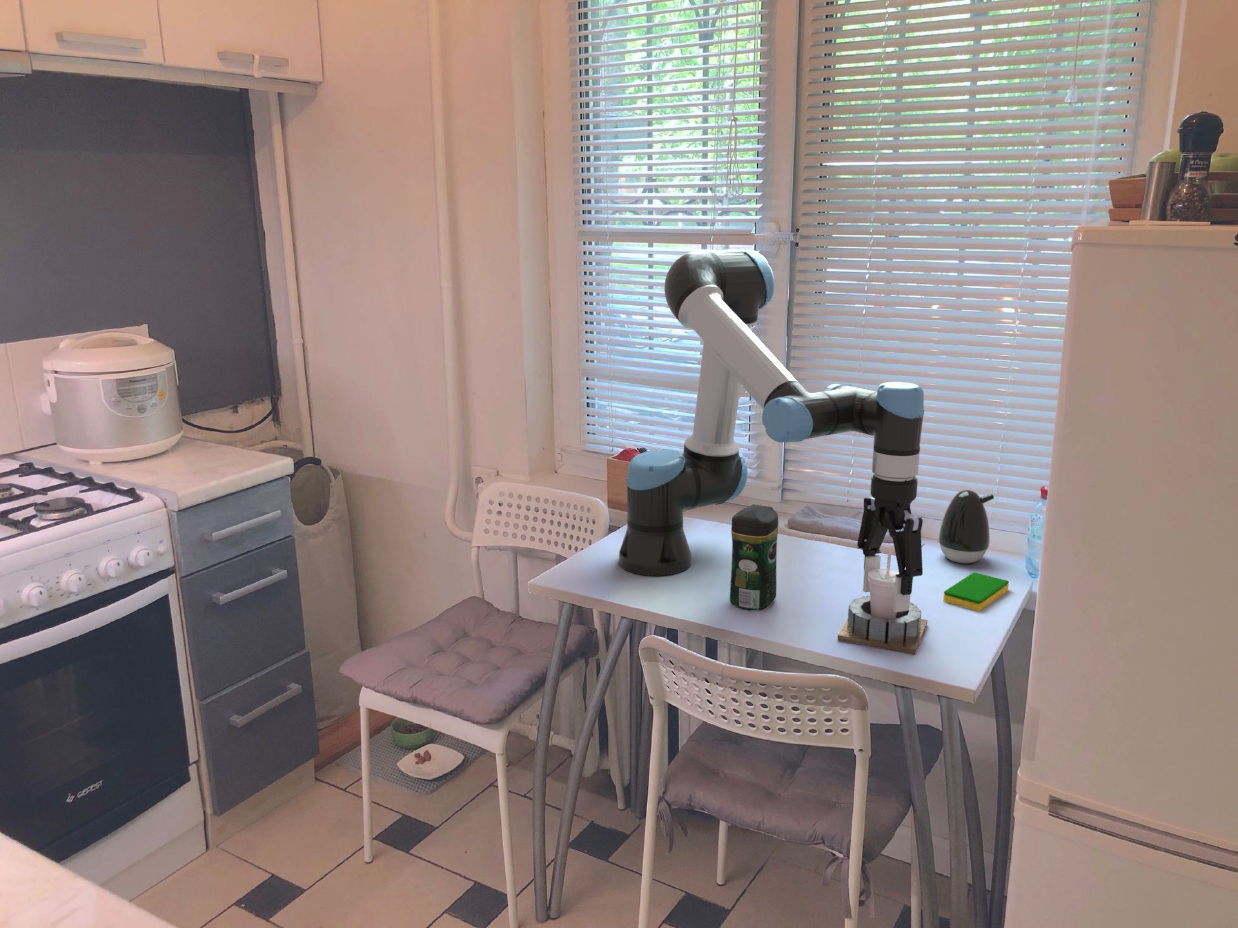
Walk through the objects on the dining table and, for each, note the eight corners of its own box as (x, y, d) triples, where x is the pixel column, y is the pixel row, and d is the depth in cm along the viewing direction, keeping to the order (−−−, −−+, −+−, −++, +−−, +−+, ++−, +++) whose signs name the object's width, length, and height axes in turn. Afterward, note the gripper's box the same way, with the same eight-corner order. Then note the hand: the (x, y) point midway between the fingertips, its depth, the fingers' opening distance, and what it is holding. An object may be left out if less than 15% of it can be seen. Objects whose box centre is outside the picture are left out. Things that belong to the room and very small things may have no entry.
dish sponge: (1008, 592, 188) (1009, 580, 188) (978, 613, 178) (980, 601, 178) (972, 582, 193) (973, 571, 192) (942, 603, 183) (943, 591, 182)
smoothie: (906, 624, 170) (913, 549, 167) (894, 637, 165) (901, 561, 162) (870, 615, 174) (876, 542, 170) (858, 628, 169) (864, 553, 165)
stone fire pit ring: (837, 640, 167) (838, 616, 165) (854, 612, 178) (855, 589, 177) (914, 654, 161) (917, 630, 160) (927, 625, 172) (929, 601, 171)
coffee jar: (741, 589, 189) (744, 499, 184) (780, 597, 185) (784, 504, 180) (723, 607, 180) (725, 513, 176) (763, 615, 177) (767, 519, 172)
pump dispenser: (995, 568, 199) (1002, 497, 195) (944, 567, 200) (951, 497, 196) (979, 551, 209) (986, 483, 205) (931, 550, 209) (936, 483, 206)
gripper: (953, 490, 154) (942, 621, 159) (878, 458, 173) (869, 576, 179) (913, 494, 151) (903, 627, 157) (841, 461, 171) (834, 581, 177)
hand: (885, 600), depth 168 cm, fingers open, 8 cm apart
